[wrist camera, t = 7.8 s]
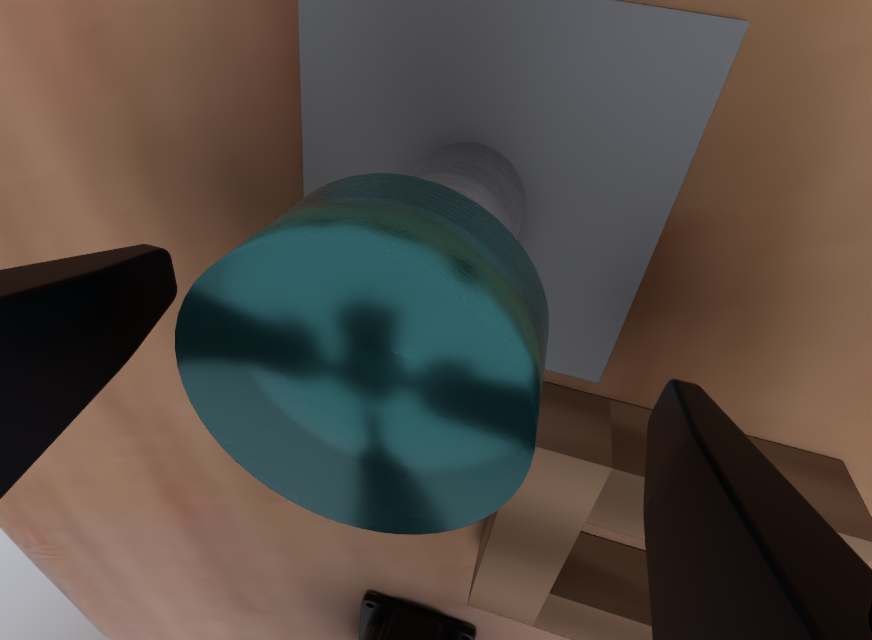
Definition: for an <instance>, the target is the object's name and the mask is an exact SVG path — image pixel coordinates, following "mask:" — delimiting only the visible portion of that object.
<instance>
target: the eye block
mask: <svg viewBox="0 0 872 640" xmlns="http://www.w3.org/2000/svg"><path fill="white" fill-rule="evenodd" d="M651 412H652V410H648V409H645V408H641V407H637V406H633V405H629V404H626V403H622V402H618V401H614V400H611V399H607V398H603V397H599V396H596V395H592V394H588V393H584V392H581V391H577V390H573V389H569V388H565V387H562V386H558V385H554V384H550V383H547V382H543V386H542V395H541V403H540V412H539V420H538V428H537V437H536V445H535V451H534V455H533V459H532V463H531V467H530V469H529V471H528V473H527V476H526V478H525V480H524V482H523V484H522V485H521V486H520V488H519V489H518V490H517V492H516V493H515V494H514V496H513V497H512V498H511V499H510V500H509V501H508V502H507V503H505V504H504V505H503V506H502V507H501V508H500V509H498V510H497V511H495V512H494V513H492V514H491V515H489V516H488V518H487V521H486V524H485V528H484V531H483V534H482V537H481V541H480V545H479V550H478V555H477V560H476V565H475V570H474V574H473V579H472V584H471V589H470V594H469V599H468V603H467V605H470V606H473V607H476V608H479V609H482V610H485V611H488V612H491V613H494V614H497V615H500V616H503V617H506V618H509V619H512V620H515V621H518V622H521V623H524V624H527V625H530V626H533V627H536V628H539V629H541V630H544V631H547V632H550V633H553V634H556V635H559V636H562V637H565V638H568V639H571V640H653V639H652V626H651V613H650V600H649V587H648V573H647V560H646V552H645V551H642V550H639V549H636V548H632V547H629V546H626V545H622V544H619V543H616V542H613V541H609V540H606V539H603V538H599V537H596V536H593V535H589V534H586V533H583V532H580V531H581V529H582V527H583V525H584V523H585V522H586V523H589V524H593V525H596V526H599V527H603V528H606V529H609V530H613V531H616V532H619V533H623V534H626V535H629V536H632V537H636V538H639V539H642V540H645V534H644V518H643V500H644V479H645V460H646V440H647V426H648V421H649V417H650V415H651ZM747 437H748V438H749V439H750V440H751V441H752V442H753V443H754V444H755V445H756V447H757V448H758V449H759V450H760V451H761V452H762V453H763V454H764V455H765V456H766V457H767V458H768V459H769V460H770V461H771V463H772V464H773V465H774V466H775V467H776V468H777V469H778V470H779V471H780V472H781V473H782V474H783V475H784V476H785V477H786V478H787V480H788V481H789V482H790V483H791V484H792V485H793V486H794V487H795V488H796V489H797V490H798V491H799V492H800V493H801V494H802V496H803V497H804V498H805V499H806V500H807V501H808V502H809V503H810V504H811V505H812V506H813V507H814V508H815V509H816V510H817V511H818V513H819V514H820V515H821V516H822V517H823V518H824V519H825V520H826V521H827V522H828V523H829V524H830V525H831V526H832V527H833V529H834V530H835V531H836V532H837V533H838V534H839V535H840V536H841V537H842V538H843V539H844V540H845V541H846V542H847V543H848V544H849V546H850V547H851V548H852V549H853V550H854V551H855V552H856V553H857V554H858V555H859V556H860V557H861V558H862V559H863V560H864V562H865V563H866V564H867V563H868V562H869V561H870V560H871V559H872V517H871V515H870V513H869V511H868V509H867V507H866V505H865V503H864V501H863V499H862V497H861V495H860V493H859V492H858V490H857V488H856V486H855V484H854V482H853V480H852V478H851V476H850V474H849V472H848V470H847V468H846V466H845V464H844V462H843V461H841V460H837V459H833V458H829V457H825V456H822V455H818V454H814V453H810V452H807V451H803V450H799V449H795V448H792V447H788V446H784V445H780V444H776V443H773V442H769V441H765V440H761V439H758V438H754V437H750V436H747Z"/></svg>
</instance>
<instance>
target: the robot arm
mask: <svg viewBox="0 0 872 640" xmlns="http://www.w3.org/2000/svg"><path fill="white" fill-rule="evenodd" d="M176 294H177V284H176V279H175V274H174V269H173V264H172V259H171V256H170V254H169V252H168V251H167V250H165V249H163V248H160V247H156V246H152V245H148V244H141V245H136V246H130V247H124V248H119V249H113V250H108V251H102V252H97V253H91V254H86V255H80V256H75V257H69V258H64V259H58V260H52V261H47V262H41V263H36V264H30V265H25V266H19V267H14V268H8V269H3V270H0V499H1V498H2V497H3V496H4V495H5V494H6V493H7V491H8V490H9V489H10V488H11V487H12V486H13V485H14V484H15V483H16V482H17V481H18V480H19V479H20V477H21V476H22V475H23V474H24V473H25V472H26V471H27V470H28V469H29V468H30V467H31V466H32V464H33V463H34V462H35V461H36V460H37V459H38V458H39V457H40V456H41V455H42V454H43V453H44V452H45V450H46V449H47V448H48V447H49V446H50V445H51V444H52V443H53V442H54V441H55V440H56V439H57V437H58V436H59V435H60V434H61V433H62V432H63V431H64V430H65V429H66V428H67V427H68V426H69V425H70V423H71V422H72V421H73V420H74V419H75V418H76V417H77V416H78V415H79V414H80V413H81V412H82V410H83V409H84V408H85V407H86V406H87V405H88V404H89V403H90V402H91V401H92V400H93V399H94V398H95V396H96V395H97V394H98V393H99V392H100V391H101V390H102V389H103V388H104V387H105V386H106V385H107V383H108V382H109V381H110V380H111V379H112V378H113V377H114V376H115V375H116V374H117V373H118V372H119V371H120V369H121V368H122V367H123V366H124V365H125V364H126V363H127V361H128V360H129V359H130V358H131V357H132V355H133V354H134V353H135V351H136V350H137V349H138V348H139V346H140V345H141V344H142V342H143V341H144V340H145V338H146V337H147V336H148V334H149V333H150V332H151V330H152V329H153V328H154V326H155V325H156V324H157V322H158V321H159V320H160V318H161V317H162V316H163V314H164V313H165V312H166V310H167V309H168V308H169V306H170V305H171V304H172V302H173V301H174V299H175V297H176ZM643 518H644V534H645V547H646V560H647V573H648V587H649V600H650V613H651V626H652V639H653V640H872V569H871V568H870V567H869V566H868V565H867V564H866V563H865V562H864V560H863V559H862V558H861V557H860V556H859V555H858V554H857V553H856V552H855V551H854V550H853V549H852V548H851V547H850V546H849V544H848V543H847V542H846V541H845V540H844V539H843V538H842V537H841V536H840V535H839V534H838V533H837V532H836V531H835V530H834V529H833V527H832V526H831V525H830V524H829V523H828V522H827V521H826V520H825V519H824V518H823V517H822V516H821V515H820V514H819V513H818V511H817V510H816V509H815V508H814V507H813V506H812V505H811V504H810V503H809V502H808V501H807V500H806V499H805V498H804V497H803V496H802V494H801V493H800V492H799V491H798V490H797V489H796V488H795V487H794V486H793V485H792V484H791V483H790V482H789V481H788V480H787V478H786V477H785V476H784V475H783V474H782V473H781V472H780V471H779V470H778V469H777V468H776V467H775V466H774V465H773V464H772V463H771V461H770V460H769V459H768V458H767V457H766V456H765V455H764V454H763V453H762V452H761V451H760V450H759V449H758V448H757V447H756V445H755V444H754V443H753V442H752V441H751V440H750V439H749V438H748V437H747V436H746V435H745V434H744V433H743V432H742V431H741V430H740V428H739V427H738V426H737V425H736V424H735V423H734V422H733V421H732V420H731V419H730V418H729V417H728V416H727V415H726V414H725V412H724V411H723V410H722V409H721V408H720V407H719V406H718V405H717V404H716V403H715V402H714V401H713V400H712V399H711V398H710V397H709V395H708V394H707V393H706V392H705V391H704V390H703V389H702V388H701V387H700V386H699V385H697V384H694V383H690V382H686V381H682V380H678V379H672V380H670V381H669V382H668V383H667V384H666V386H665V388H664V390H663V391H662V393H661V395H660V397H659V399H658V401H657V403H656V405H655V407H654V409H653V411H652V412H651V415H650V417H649V421H648V426H647V440H646V460H645V479H644V500H643ZM475 637H476V631H475V630H474V629H472V628H470V627H468V626H465V625H462V624H459V623H456V622H453V621H451V620H448V619H445V618H442V617H439V616H436V615H433V614H430V613H427V612H424V611H421V610H418V609H415V608H412V607H409V606H407V605H404V604H401V603H398V602H395V601H392V600H389V599H386V598H383V597H380V596H377V595H374V594H371V593H367V594H365V595H364V598H363V600H362V604H361V617H360V630H359V640H475Z"/></svg>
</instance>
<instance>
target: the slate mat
mask: <svg viewBox="0 0 872 640" xmlns="http://www.w3.org/2000/svg"><path fill="white" fill-rule="evenodd" d="M298 24H299V57H300V89H301V121H302V154H303V186H304V197H306V196H307V195H309V194H310V193H311V192H313V191H314V190H316V189H318V188H320V187H322V186H324V185H326V184H328V183H330V182H333V181H336V180H339V179H343V178H346V177H349V176H354V175H362V174H369V173H394V174H401V175H408V176H409V175H410V174H411V173H412V172H413V171H414V170H415V169H416V168H417V167H418V166H419V165H420V164H421V163H422V161H423V160H424V159H425V158H426V157H427V156H429V155H430V154H431V153H432V152H434V151H435V150H437V149H438V148H440V147H443V146H445V145H448V144H451V143H457V142H473V143H479V144H482V145H486V146H488V147H490V148H492V149H494V150H496V151H498V152H499V153H501V154H502V155H503V156H504V157H506V158H507V159H508V160H509V162H510V163H511V164H512V165H513V166H514V168H515V169H516V170H517V172H518V174H519V176H520V178H521V181H522V183H523V186H524V190H525V198H526V204H525V212H524V217H523V220H522V224H521V227H520V231H519V234H518V237H517V240H518V241H519V243H520V244H521V245H522V247H523V248H524V249H525V251H526V252H527V254H528V256H529V257H530V259H531V261H532V263H533V264H534V266H535V268H536V270H537V272H538V275H539V277H540V280H541V282H542V285H543V288H544V292H545V296H546V300H547V304H548V314H549V334H548V345H547V353H546V361H545V370H549V371H553V372H557V373H560V374H564V375H568V376H572V377H576V378H579V379H583V380H587V381H591V382H595V383H599V381H600V379H601V376H602V374H603V372H604V369H605V367H606V364H607V362H608V360H609V357H610V355H611V352H612V350H613V348H614V345H615V343H616V341H617V338H618V336H619V333H620V331H621V329H622V326H623V324H624V321H625V319H626V317H627V314H628V312H629V310H630V307H631V305H632V302H633V300H634V298H635V295H636V293H637V291H638V288H639V286H640V283H641V281H642V279H643V276H644V274H645V271H646V269H647V267H648V264H649V262H650V260H651V257H652V255H653V252H654V250H655V248H656V245H657V243H658V240H659V238H660V236H661V233H662V231H663V229H664V226H665V224H666V221H667V219H668V217H669V214H670V212H671V210H672V207H673V205H674V202H675V200H676V198H677V195H678V193H679V190H680V188H681V186H682V183H683V181H684V179H685V176H686V174H687V171H688V169H689V167H690V164H691V162H692V159H693V157H694V155H695V152H696V150H697V148H698V145H699V143H700V140H701V138H702V136H703V133H704V131H705V129H706V126H707V124H708V121H709V119H710V117H711V114H712V112H713V109H714V107H715V105H716V102H717V100H718V98H719V95H720V93H721V90H722V88H723V86H724V83H725V81H726V78H727V76H728V74H729V71H730V69H731V67H732V64H733V62H734V59H735V57H736V55H737V52H738V50H739V47H740V45H741V43H742V40H743V38H744V36H745V33H746V31H747V28H748V26H749V24H750V21H746V20H742V19H735V18H729V17H722V16H716V15H710V14H703V13H697V12H690V11H684V10H677V9H671V8H665V7H658V6H652V5H645V4H639V3H632V2H626V1H620V0H298Z"/></svg>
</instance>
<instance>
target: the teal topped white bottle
mask: <svg viewBox="0 0 872 640" xmlns="http://www.w3.org/2000/svg"><path fill="white" fill-rule="evenodd" d="M525 204H526V198H525V190H524V186H523V183H522V181H521V178H520V176H519V174H518V172H517V170H516V169H515V168H514V166H513V165H512V164H511V163H510V162H509V160H508V159H507V158H506V157H504V156H503V155H502V154H501V153H499V152H498V151H496V150H494V149H492V148H490V147H488V146H486V145H482V144H479V143H473V142H457V143H451V144H448V145H445V146H443V147H440V148H438V149H437V150H435V151H434V152H432V153H431V154H430V155H429V156H427V157H426V158H425V159H424V160H423V161H422V163H421V164H420V165H419V166H418V167H417V168H416V169H415V170H414V171H413V172H412V173H411V174H410V175H409V176H408V175H401V174H394V173H369V174H362V175H354V176H349V177H346V178H343V179H339V180H336V181H333V182H330V183H328V184H326V185H324V186H322V187H320V188H318V189H316V190H314V191H313V192H311V193H310V194H309V195H307V196H306V197H304V198H303V199H301V200H300V201H299V202H297V203H296V204H295V205H293V206H292V207H290V208H289V209H288V210H286V211H285V212H284V213H282V214H281V215H280V216H278V217H277V218H276V219H274V220H273V221H272V222H270V223H269V224H268V225H266V226H265V227H263V228H262V229H261V230H259V231H258V232H257V233H255V234H254V235H253V236H251V237H250V238H249V239H247V240H246V241H245V242H243V243H242V244H241V245H239V246H238V247H236V248H235V249H234V250H232V251H231V252H230V253H228V254H227V255H226V256H224V257H223V258H222V259H220V260H219V261H218V262H216V263H215V264H214V265H212V266H211V267H209V268H208V269H207V270H206V271H205V272H204V273H203V274H202V275H201V276H200V277H199V278H198V279H197V280H196V281H195V282H194V284H193V285H192V287H191V289H190V290H189V292H188V293H187V295H186V296H185V298H184V301H183V303H182V306H181V308H180V311H179V313H178V318H177V324H176V329H175V352H176V359H177V366H178V369H179V373H180V376H181V380H182V383H183V386H184V388H185V390H186V393H187V395H188V397H189V400H190V402H191V404H192V405H193V407H194V409H195V411H196V412H197V414H198V416H199V418H200V419H201V421H202V422H203V423H204V425H205V426H206V428H207V429H208V430H209V432H210V433H211V435H212V436H213V437H214V438H215V439H216V440H217V442H218V443H219V444H220V445H221V446H222V448H223V449H224V450H225V451H226V452H227V453H228V454H229V455H230V456H231V457H232V458H233V459H234V460H235V461H236V462H237V463H238V464H240V465H241V466H242V467H243V468H244V469H245V470H247V471H248V472H249V473H250V474H251V475H253V476H254V477H255V478H257V479H258V480H259V481H261V482H262V483H263V484H265V485H266V486H267V487H269V488H270V489H272V490H274V491H275V492H277V493H278V494H280V495H282V496H283V497H285V498H286V499H288V500H290V501H292V502H294V503H296V504H298V505H299V506H301V507H303V508H305V509H308V510H310V511H312V512H314V513H317V514H319V515H321V516H324V517H326V518H329V519H332V520H335V521H337V522H340V523H343V524H347V525H351V526H354V527H358V528H362V529H367V530H372V531H377V532H384V533H394V534H431V533H440V532H445V531H450V530H455V529H458V528H462V527H465V526H468V525H471V524H473V523H475V522H478V521H480V520H482V519H484V518H486V517H488V516H489V515H491V514H492V513H494V512H495V511H497V510H498V509H500V508H501V507H502V506H503V505H504V504H505V503H507V502H508V501H509V500H510V499H511V498H512V497H513V496H514V494H515V493H516V492H517V490H518V489H519V488H520V486H521V485H522V484H523V482H524V480H525V478H526V476H527V473H528V471H529V469H530V467H531V463H532V459H533V455H534V451H535V445H536V437H537V428H538V420H539V412H540V403H541V395H542V386H543V378H544V370H545V361H546V353H547V345H548V334H549V314H548V304H547V300H546V296H545V292H544V288H543V285H542V282H541V280H540V277H539V275H538V272H537V270H536V268H535V266H534V264H533V263H532V261H531V259H530V257H529V256H528V254H527V252H526V251H525V249H524V248H523V247H522V245H521V244H520V243H519V241H518V240H517V237H518V234H519V231H520V227H521V224H522V220H523V217H524V212H525Z"/></svg>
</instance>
